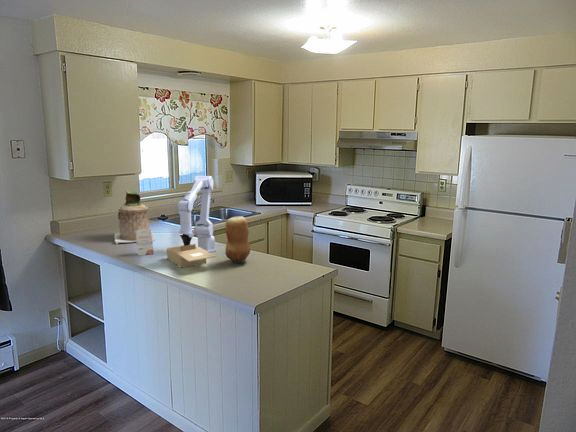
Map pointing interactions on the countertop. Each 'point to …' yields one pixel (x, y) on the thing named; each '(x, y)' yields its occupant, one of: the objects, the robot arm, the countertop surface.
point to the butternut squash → (237, 239)
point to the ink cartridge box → (144, 242)
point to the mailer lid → (193, 253)
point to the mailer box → (180, 260)
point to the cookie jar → (132, 219)
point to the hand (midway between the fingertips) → (187, 247)
